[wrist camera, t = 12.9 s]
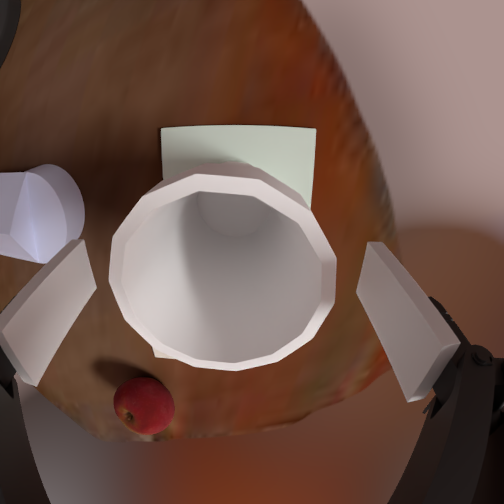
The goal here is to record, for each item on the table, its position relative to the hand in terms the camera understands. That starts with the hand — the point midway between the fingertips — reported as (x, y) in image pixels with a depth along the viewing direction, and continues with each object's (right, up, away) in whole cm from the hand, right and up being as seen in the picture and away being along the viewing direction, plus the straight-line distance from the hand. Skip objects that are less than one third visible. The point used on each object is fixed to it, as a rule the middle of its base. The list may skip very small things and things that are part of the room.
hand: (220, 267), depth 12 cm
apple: (-12, -17, +22) cm, 30 cm away
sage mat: (0, +5, +11) cm, 12 cm away
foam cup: (0, +5, +11) cm, 12 cm away
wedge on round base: (-21, +5, +11) cm, 24 cm away
